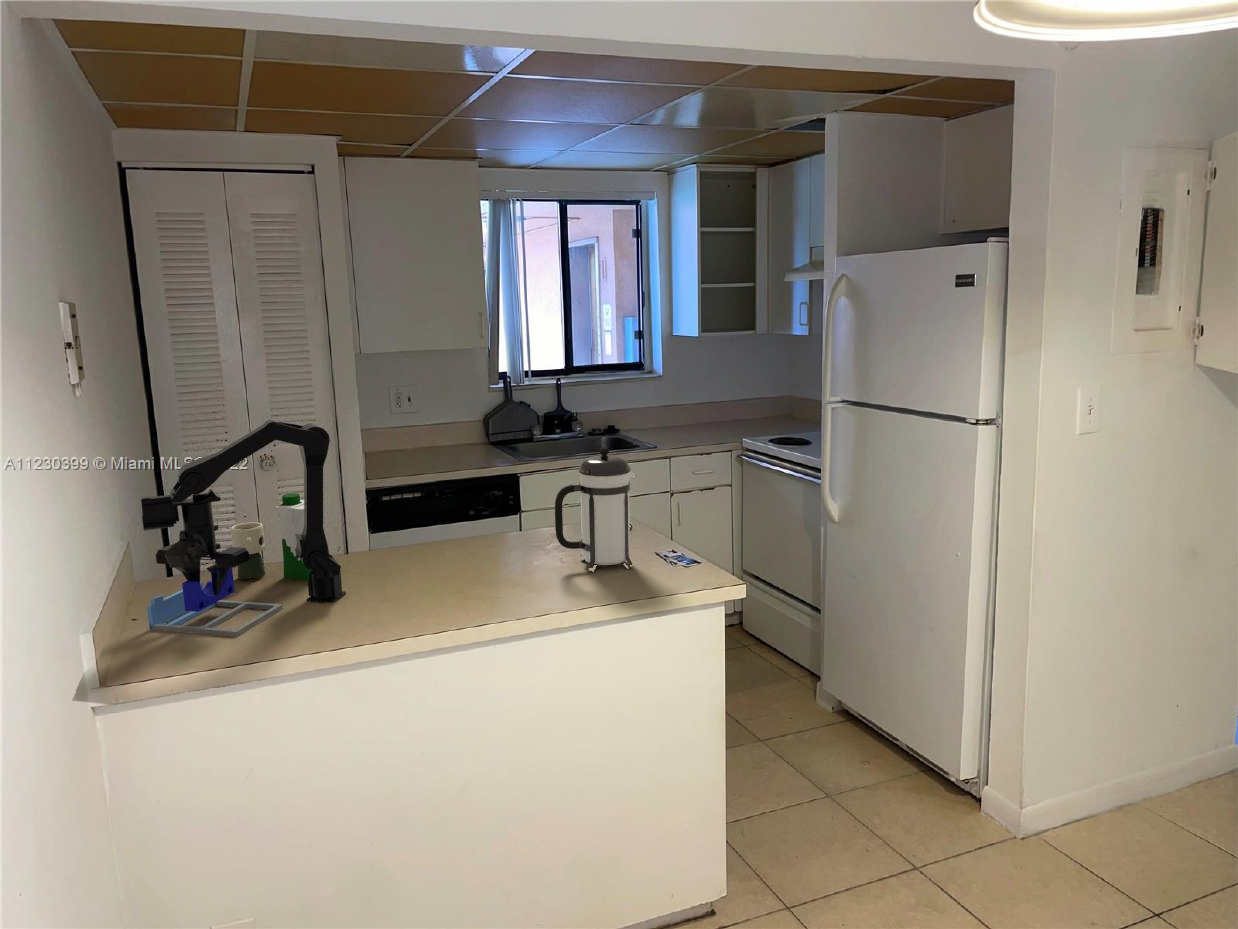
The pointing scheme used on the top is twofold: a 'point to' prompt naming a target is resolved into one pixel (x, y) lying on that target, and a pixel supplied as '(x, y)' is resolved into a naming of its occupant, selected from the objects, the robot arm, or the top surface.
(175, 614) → the blue grey rack
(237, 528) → the character mug
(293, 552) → the milk carton
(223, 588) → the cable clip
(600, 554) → the coffee press
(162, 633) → the top surface
